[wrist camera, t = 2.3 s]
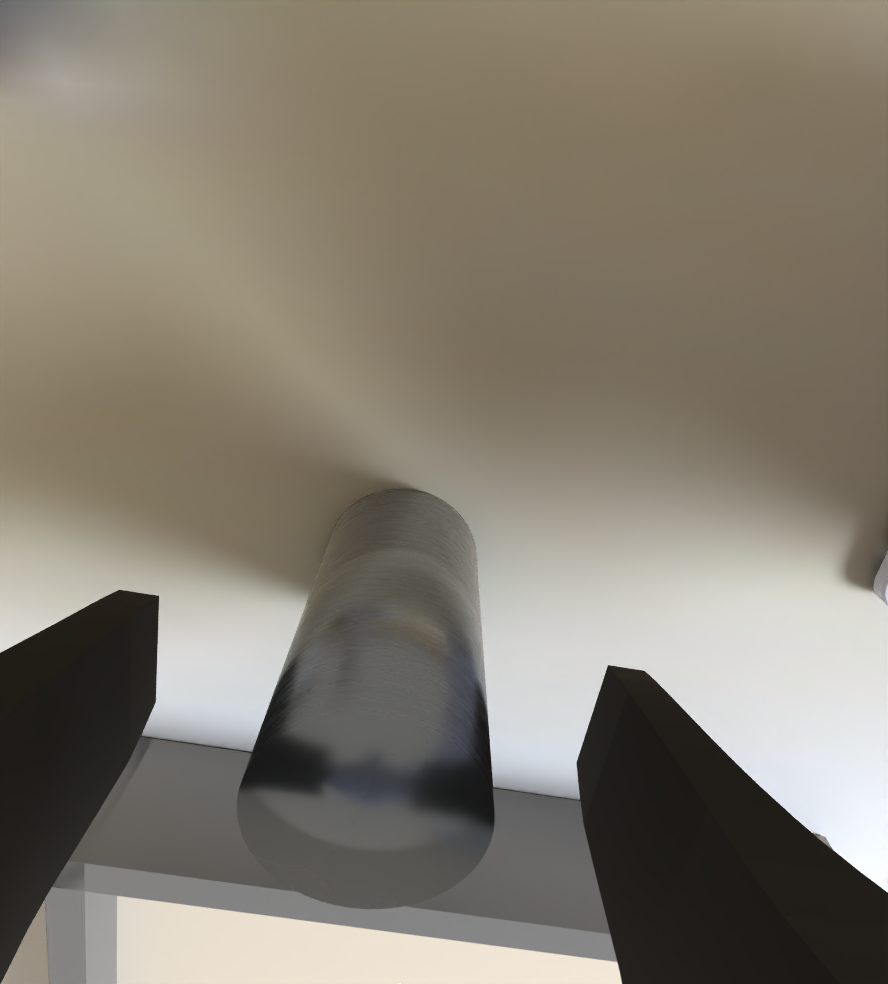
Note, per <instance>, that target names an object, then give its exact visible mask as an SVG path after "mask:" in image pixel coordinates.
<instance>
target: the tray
mask: <svg viewBox="0 0 888 984" xmlns="http://www.w3.org/2000/svg"><path fill="white" fill-rule="evenodd" d="M251 754H252V753H248V752H242V751H235V750H228V749H221V748H214V747H207V746H201V745H194V744H187V743H180V742H173V741H166V740H159V739H153V738H146V737H140V739H139V741H138V743H137V745H136V747H135V749H134V752H133V754H132V756H131V758H130V760H129V762H128V764H127V765H126V767H125V769H124V770H123V772H122V774H121V775H120V777H119V779H118V780H117V782H116V784H115V785H114V787H113V789H112V790H111V792H110V794H109V795H108V797H107V799H106V800H105V802H104V803H103V805H102V807H101V808H100V810H99V812H98V813H97V815H96V817H95V818H94V820H93V821H92V823H91V825H90V826H89V828H88V830H87V831H86V833H85V834H84V836H83V838H82V839H81V841H80V843H79V844H78V846H77V847H76V849H75V851H74V852H73V854H72V855H71V857H70V859H69V860H68V862H67V864H66V865H65V867H64V868H63V870H62V872H61V873H60V875H59V877H58V878H57V880H56V881H55V883H54V885H53V886H52V888H51V890H50V891H49V893H48V894H47V896H46V898H45V910H46V930H47V950H48V970H49V984H622V981H621V976H620V971H619V967H618V963H617V959H616V955H615V951H614V947H613V943H612V939H611V935H610V931H609V927H608V923H607V919H606V915H605V911H604V907H603V903H602V899H601V895H600V891H599V887H598V882H597V878H596V874H595V870H594V866H593V862H592V858H591V854H590V850H589V845H588V841H587V837H586V833H585V828H584V824H583V816H582V808H581V801H577V800H571V799H564V798H557V797H550V796H543V795H536V794H529V793H523V792H516V791H509V790H502V789H495V788H493V795H494V809H495V825H494V830H493V835H492V839H491V842H490V844H489V847H488V849H487V851H486V853H485V855H484V856H483V858H482V860H481V861H480V862H479V864H478V865H477V866H476V867H475V869H474V870H473V871H472V872H471V873H470V874H469V875H468V876H467V877H466V878H465V879H464V880H462V881H461V882H459V883H458V884H457V885H455V886H454V887H453V888H451V889H449V890H447V891H445V892H444V893H442V894H440V895H438V896H435V897H433V898H431V899H428V900H426V901H422V902H419V903H416V904H412V905H408V906H403V907H397V908H388V909H357V908H348V907H342V906H337V905H332V904H329V903H325V902H321V901H318V900H315V899H313V898H310V897H308V896H305V895H303V894H301V893H299V892H297V891H295V890H293V889H291V888H290V887H288V886H286V885H285V884H283V883H282V882H280V881H279V880H277V879H276V878H275V877H274V876H273V875H271V874H270V873H269V872H268V871H267V870H266V869H265V868H264V867H263V866H262V865H261V864H260V863H259V862H258V861H257V860H256V858H255V857H254V856H253V854H252V853H251V851H250V850H249V848H248V846H247V844H246V843H245V841H244V839H243V836H242V833H241V831H240V828H239V824H238V818H237V797H238V791H239V787H240V784H241V781H242V779H243V776H244V773H245V770H246V768H247V765H248V762H249V759H250V757H251ZM815 836H816V837H817V838H819V839H820V840H821V841H822V842H824V843H825V844H826V845H827V846H829V847H830V848H831V846H830V844H829V843H828V841H827V839H826V838H825V837H824V836H817V835H815ZM831 849H832V848H831ZM832 850H833V849H832Z"/></svg>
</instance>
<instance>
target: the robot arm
mask: <svg viewBox="0 0 888 984" xmlns="http://www.w3.org/2000/svg"><path fill="white" fill-rule="evenodd" d="M873 587H874V592H875V594H876V595H877V596H878V597H879V598H880V599H881V600H882V601H883V602H884V603H885V604H886V605H888V551H887V553H886V556H885V558H884V560H883V562H882V564H881V566H880V568H879V570H878V573H877V575H876V577H875V580H874V584H873ZM158 610H159V596H156V595H149V594H143V593H136V592H130V591H123V590H118V591H116V592H114V593H112V594H110V595H108V596H106V597H104V598H102V599H100V600H98V601H96V602H94V603H92V604H91V605H89V606H87V607H85V608H83V609H81V610H80V611H78V612H76V613H74V614H72V615H70V616H69V617H67V618H65V619H63V620H61V621H59V622H58V623H56V624H54V625H52V626H50V627H48V628H46V629H44V630H43V631H41V632H39V633H37V634H35V635H33V636H31V637H29V638H28V639H26V640H24V641H22V642H20V643H18V644H16V645H14V646H12V647H11V648H9V649H7V650H5V651H3V652H1V653H0V984H1V982H2V980H3V978H4V976H5V974H6V972H7V970H8V968H9V966H10V964H11V962H12V960H13V958H14V956H15V954H16V952H17V950H18V948H19V946H20V944H21V942H22V940H23V938H24V936H25V934H26V932H27V930H28V928H29V926H30V924H31V923H32V921H33V919H34V917H35V916H36V914H37V912H38V910H39V908H40V907H41V905H42V903H43V901H44V900H45V898H46V896H47V894H48V893H49V891H50V890H51V888H52V886H53V885H54V883H55V881H56V880H57V878H58V877H59V875H60V873H61V872H62V870H63V868H64V867H65V865H66V864H67V862H68V860H69V859H70V857H71V855H72V854H73V852H74V851H75V849H76V847H77V846H78V844H79V843H80V841H81V839H82V838H83V836H84V834H85V833H86V831H87V830H88V828H89V826H90V825H91V823H92V821H93V820H94V818H95V817H96V815H97V813H98V812H99V810H100V808H101V807H102V805H103V803H104V802H105V800H106V799H107V797H108V795H109V794H110V792H111V790H112V789H113V787H114V785H115V784H116V782H117V780H118V779H119V777H120V775H121V774H122V772H123V770H124V769H125V767H126V765H127V764H128V762H129V760H130V758H131V756H132V754H133V752H134V749H135V747H136V745H137V743H138V741H139V739H140V737H141V734H142V732H143V730H144V728H145V725H146V723H147V721H148V718H149V716H150V714H151V712H152V709H153V707H154V705H155V702H156V675H157V643H158ZM577 772H578V782H579V792H580V800H581V808H582V816H583V824H584V828H585V833H586V837H587V841H588V845H589V850H590V854H591V858H592V862H593V866H594V870H595V874H596V878H597V882H598V887H599V891H600V895H601V899H602V903H603V907H604V911H605V915H606V919H607V923H608V927H609V931H610V935H611V939H612V943H613V947H614V951H615V955H616V959H617V963H618V967H619V971H620V976H621V981H622V984H888V893H887V892H886V891H885V890H883V889H882V888H881V887H879V886H878V885H877V884H875V883H874V882H873V881H871V880H870V879H869V878H867V877H866V876H865V875H863V874H862V873H861V872H860V871H858V870H857V869H856V868H855V867H853V866H852V865H851V864H850V863H848V862H847V861H846V860H845V859H843V858H842V857H841V856H840V855H838V854H837V853H836V852H835V851H833V850H832V849H831V848H830V847H829V846H827V845H826V844H825V843H824V842H822V841H821V840H820V839H819V838H817V837H816V836H815V835H814V834H813V833H811V832H810V831H809V830H808V829H807V828H806V827H804V826H803V825H802V824H801V823H800V822H799V821H797V820H796V819H795V818H794V817H793V816H792V815H791V814H790V813H788V812H787V811H786V810H785V809H784V808H783V807H782V806H781V805H780V804H779V803H778V802H776V801H775V800H774V799H773V798H772V797H771V796H770V795H769V794H768V793H767V792H766V791H764V790H763V789H762V788H761V787H760V786H759V785H758V784H757V783H756V782H755V781H754V780H753V779H752V778H751V777H750V776H749V775H748V774H746V773H745V772H744V771H743V770H742V769H741V768H740V767H739V766H738V765H737V764H736V763H735V762H734V761H733V760H732V759H731V758H730V757H729V756H728V755H727V754H726V753H725V752H724V751H723V750H722V749H721V748H720V747H719V746H718V745H717V744H716V743H715V742H714V741H713V740H712V739H711V738H710V737H709V736H708V735H707V734H706V732H705V731H704V730H703V729H702V728H701V727H700V726H699V725H698V724H697V723H696V722H695V721H694V720H693V719H692V718H691V717H690V716H689V715H688V714H687V713H686V712H685V711H684V710H683V709H682V708H681V707H680V705H679V704H678V703H677V702H676V701H675V700H674V699H673V698H672V697H671V696H670V695H669V694H668V693H667V692H666V691H665V690H664V689H663V688H662V687H661V686H660V685H659V684H658V683H657V682H656V681H655V680H654V679H653V678H652V677H651V676H650V675H648V674H647V673H646V672H645V671H642V670H635V669H629V668H622V667H616V666H609V665H608V667H607V670H606V673H605V676H604V680H603V683H602V686H601V689H600V692H599V695H598V698H597V701H596V704H595V707H594V711H593V714H592V717H591V720H590V723H589V726H588V729H587V732H586V735H585V739H584V742H583V745H582V748H581V751H580V754H579V757H578V760H577Z"/></svg>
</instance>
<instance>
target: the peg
mask: <svg viewBox="0 0 888 984" xmlns="http://www.w3.org/2000/svg"><path fill="white" fill-rule="evenodd" d="M237 818H238V824H239V828H240V831H241V833H242V836H243V839H244V841H245V843H246V844H247V846H248V848H249V850H250V851H251V853H252V854H253V856H254V857H255V858H256V860H257V861H258V862H259V863H260V864H261V865H262V866H263V867H264V868H265V869H266V870H267V871H268V872H269V873H270V874H271V875H273V876H274V877H275V878H276V879H277V880H279V881H280V882H282V883H283V884H285V885H286V886H288V887H290V888H291V889H293V890H295V891H297V892H299V893H301V894H303V895H305V896H308V897H310V898H313V899H315V900H318V901H321V902H325V903H329V904H332V905H337V906H342V907H348V908H357V909H388V908H397V907H403V906H408V905H412V904H416V903H419V902H422V901H426V900H428V899H431V898H433V897H435V896H438V895H440V894H442V893H444V892H445V891H447V890H449V889H451V888H453V887H454V886H455V885H457V884H458V883H459V882H461V881H462V880H464V879H465V878H466V877H467V876H468V875H469V874H470V873H471V872H472V871H473V870H474V869H475V867H476V866H477V865H478V864H479V862H480V861H481V860H482V858H483V856H484V855H485V853H486V851H487V849H488V847H489V844H490V842H491V839H492V835H493V830H494V825H495V809H494V795H493V781H492V767H491V753H490V739H489V725H488V711H487V698H486V684H485V670H484V656H483V642H482V628H481V614H480V600H479V586H478V572H477V558H476V548H475V543H474V539H473V536H472V533H471V531H470V529H469V527H468V525H467V524H466V522H465V521H464V519H463V518H462V517H461V516H460V515H459V513H458V512H457V511H456V510H454V509H453V508H452V507H451V506H450V505H448V504H447V503H446V502H444V501H443V500H441V499H439V498H437V497H435V496H433V495H430V494H427V493H425V492H421V491H416V490H409V489H391V490H384V491H380V492H377V493H374V494H371V495H369V496H366V497H364V498H363V499H361V500H359V501H357V502H356V503H355V504H353V505H352V506H351V507H350V508H349V509H348V510H347V511H346V512H345V513H344V514H343V515H342V516H341V518H340V519H339V520H338V522H337V524H336V526H335V527H334V529H333V532H332V535H331V538H330V540H329V543H328V546H327V549H326V551H325V554H324V557H323V560H322V562H321V565H320V568H319V570H318V573H317V576H316V579H315V581H314V584H313V587H312V590H311V592H310V595H309V598H308V601H307V603H306V606H305V609H304V612H303V614H302V617H301V620H300V623H299V625H298V628H297V631H296V633H295V636H294V639H293V642H292V644H291V647H290V650H289V653H288V655H287V658H286V661H285V664H284V666H283V669H282V672H281V675H280V677H279V680H278V683H277V685H276V688H275V691H274V694H273V696H272V699H271V702H270V705H269V707H268V710H267V713H266V716H265V718H264V721H263V724H262V727H261V729H260V732H259V735H258V738H257V740H256V743H255V746H254V748H253V751H252V754H251V757H250V759H249V762H248V765H247V768H246V770H245V773H244V776H243V779H242V781H241V784H240V787H239V791H238V797H237Z"/></svg>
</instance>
